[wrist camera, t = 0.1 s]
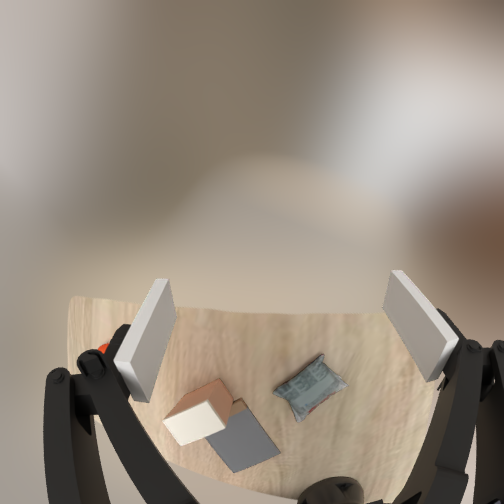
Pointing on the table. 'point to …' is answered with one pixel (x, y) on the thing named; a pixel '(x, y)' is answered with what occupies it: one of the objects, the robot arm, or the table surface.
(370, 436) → the table surface
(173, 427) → the terracotta block
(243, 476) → the table surface
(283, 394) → the packaged food
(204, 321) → the table surface
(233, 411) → the mat
